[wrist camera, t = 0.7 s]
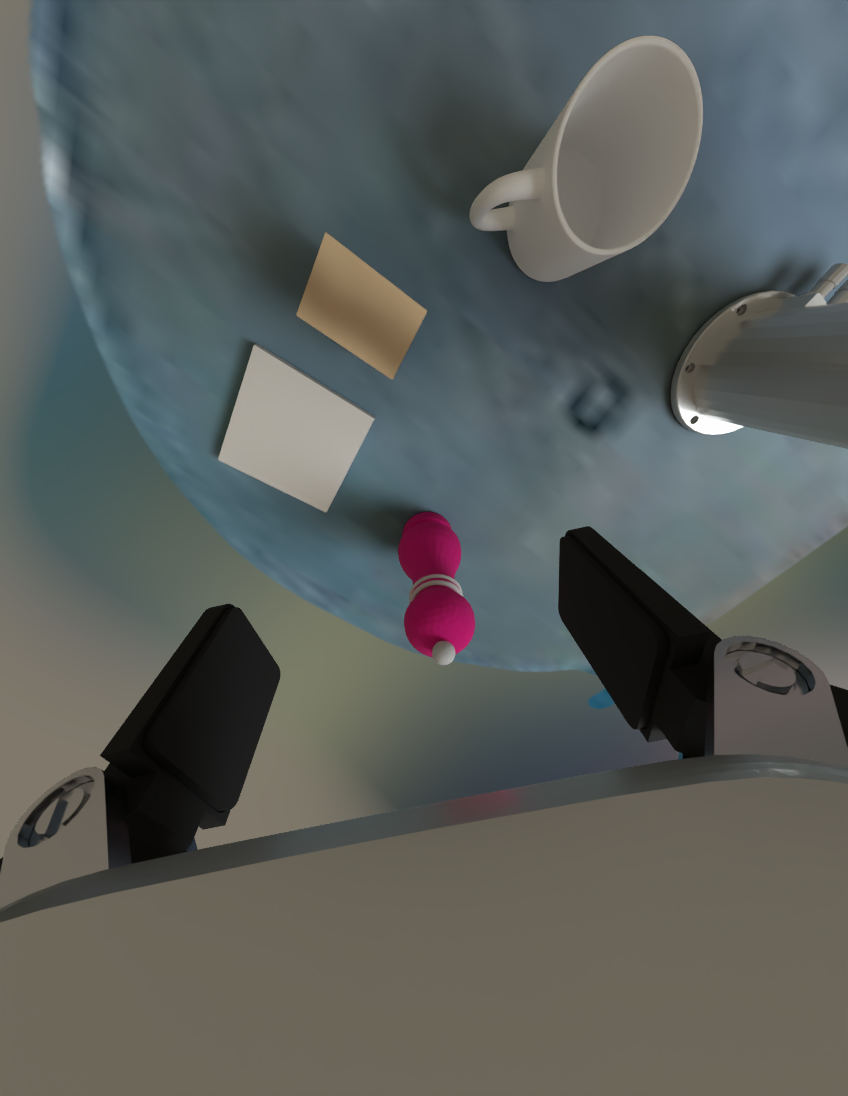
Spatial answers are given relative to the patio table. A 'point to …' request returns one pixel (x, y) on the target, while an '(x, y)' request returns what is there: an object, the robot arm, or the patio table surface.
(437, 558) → the pepper mill
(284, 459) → the tile
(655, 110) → the cup
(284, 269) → the patio table surface
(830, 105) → the patio table surface
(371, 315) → the pegged wooden block
